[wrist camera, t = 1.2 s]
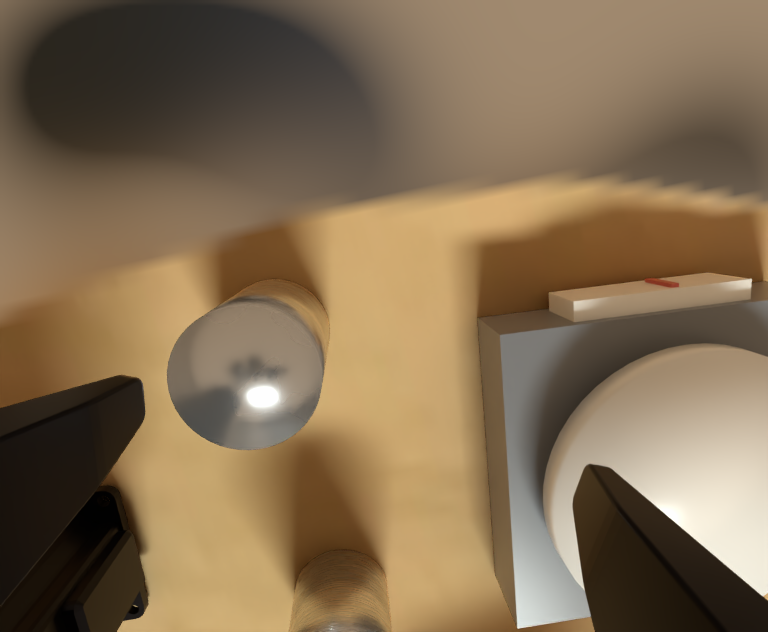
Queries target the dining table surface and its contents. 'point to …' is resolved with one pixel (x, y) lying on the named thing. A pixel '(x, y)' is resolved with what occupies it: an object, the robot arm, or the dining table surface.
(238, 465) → the dining table surface
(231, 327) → the cylinder
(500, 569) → the base
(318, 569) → the cylinder
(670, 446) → the pan
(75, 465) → the robot arm
